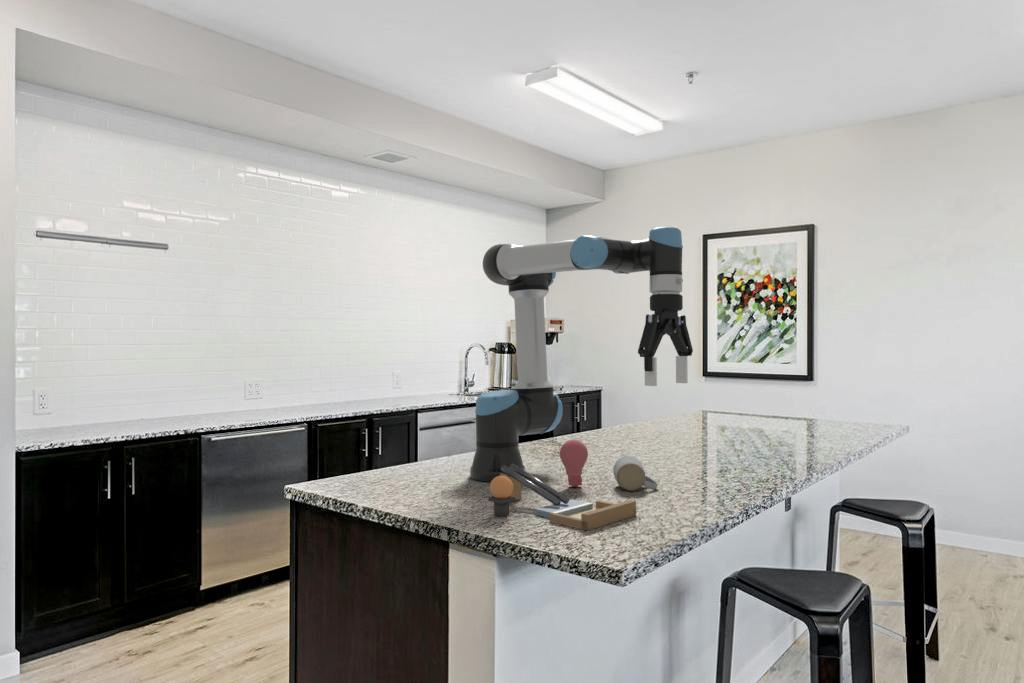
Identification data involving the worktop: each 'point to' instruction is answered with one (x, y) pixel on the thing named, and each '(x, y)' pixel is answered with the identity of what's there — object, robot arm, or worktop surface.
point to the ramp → (531, 485)
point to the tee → (501, 505)
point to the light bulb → (574, 460)
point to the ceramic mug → (632, 474)
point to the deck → (564, 508)
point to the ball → (501, 487)
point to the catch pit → (597, 515)
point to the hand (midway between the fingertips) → (666, 384)
